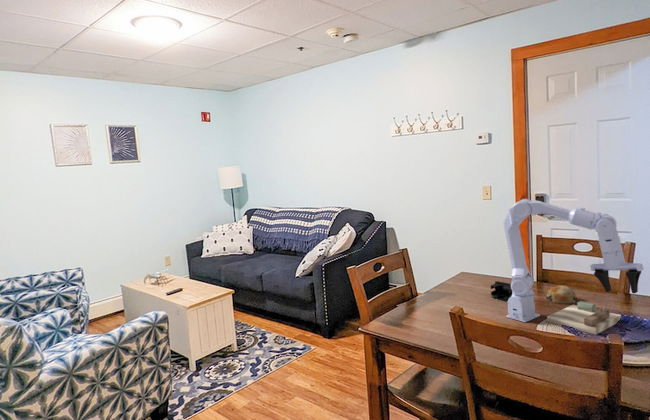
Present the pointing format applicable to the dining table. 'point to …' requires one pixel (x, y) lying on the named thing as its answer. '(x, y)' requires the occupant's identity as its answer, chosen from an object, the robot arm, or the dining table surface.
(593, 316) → the walnut leg
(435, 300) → the dining table surface
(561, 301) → the bread roll
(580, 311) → the cutting board
